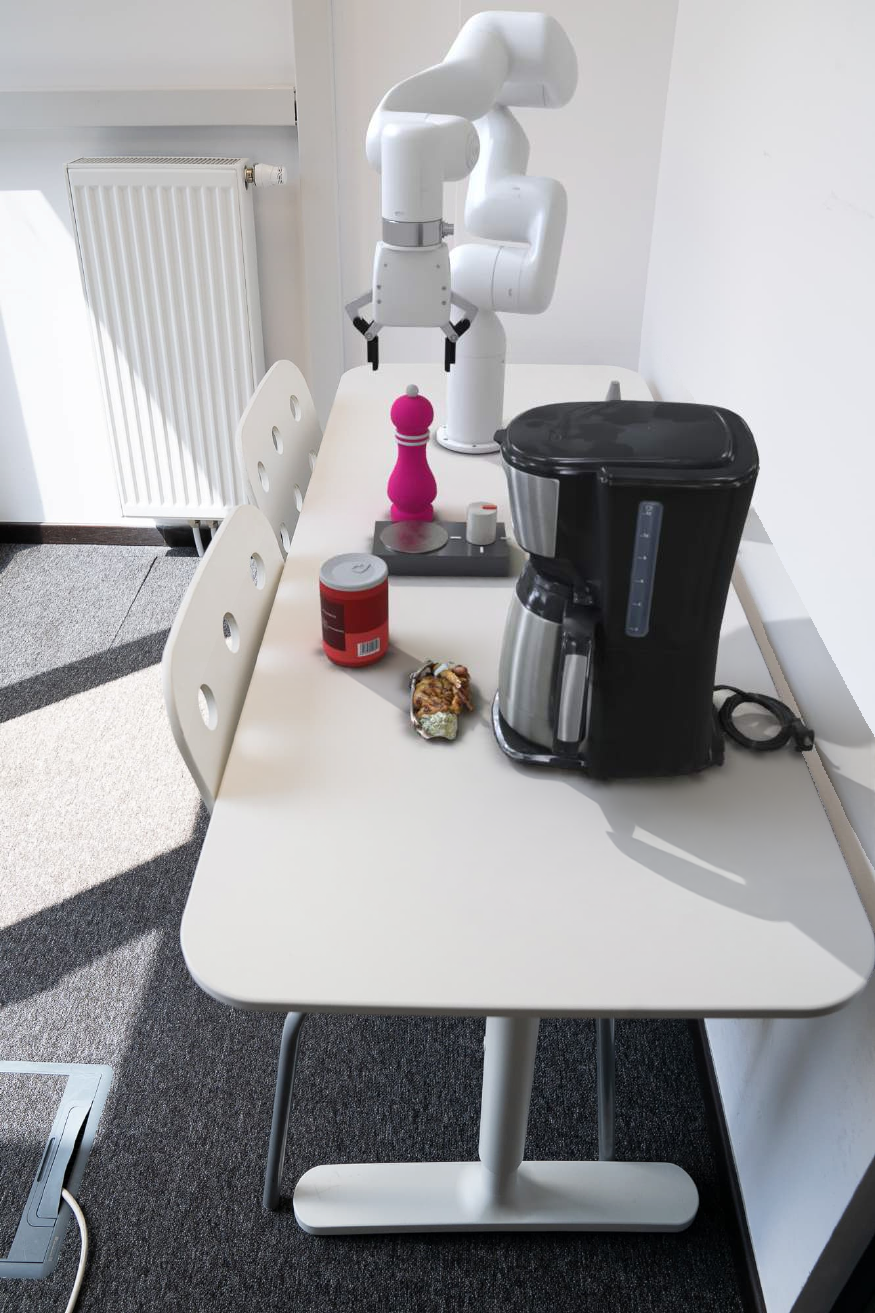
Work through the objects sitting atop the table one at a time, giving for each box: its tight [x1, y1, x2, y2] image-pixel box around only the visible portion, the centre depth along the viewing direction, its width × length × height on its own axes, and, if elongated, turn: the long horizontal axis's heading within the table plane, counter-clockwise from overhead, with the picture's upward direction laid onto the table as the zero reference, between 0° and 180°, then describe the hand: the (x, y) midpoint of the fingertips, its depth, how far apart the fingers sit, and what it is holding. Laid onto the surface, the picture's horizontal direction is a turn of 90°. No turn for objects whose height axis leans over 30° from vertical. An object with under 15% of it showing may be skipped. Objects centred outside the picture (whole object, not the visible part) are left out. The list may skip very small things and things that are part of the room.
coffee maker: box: [491, 399, 816, 781], centre depth 101 cm, size 23×32×34 cm
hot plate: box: [371, 520, 512, 577], centre depth 140 cm, size 19×10×3 cm, turn 90°
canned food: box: [318, 552, 390, 668], centre depth 118 cm, size 8×8×11 cm
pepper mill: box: [386, 383, 438, 522], centre depth 145 cm, size 7×7×20 cm
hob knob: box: [466, 501, 498, 545], centre depth 138 cm, size 4×4×5 cm
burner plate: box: [380, 521, 448, 554], centre depth 139 cm, size 9×9×1 cm
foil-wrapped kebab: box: [408, 657, 474, 740], centre depth 111 cm, size 7×12×4 cm, turn 2°
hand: (411, 368), depth 138 cm, fingers open, 9 cm apart
